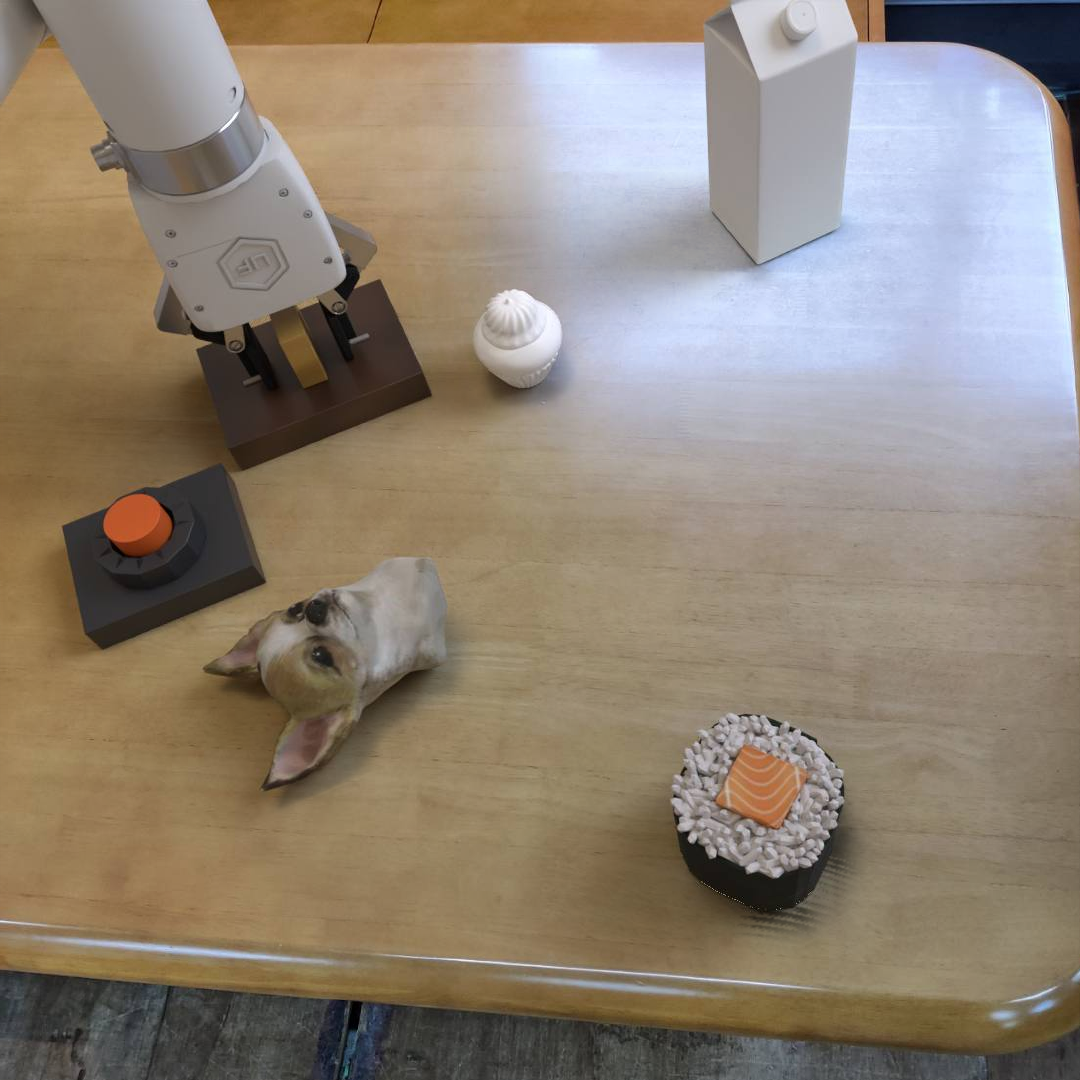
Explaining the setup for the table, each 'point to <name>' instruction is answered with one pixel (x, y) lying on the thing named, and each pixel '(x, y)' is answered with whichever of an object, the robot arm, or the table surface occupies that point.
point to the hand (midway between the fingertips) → (305, 358)
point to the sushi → (757, 810)
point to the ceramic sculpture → (340, 657)
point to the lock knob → (298, 346)
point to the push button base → (164, 560)
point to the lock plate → (327, 407)
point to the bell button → (138, 525)
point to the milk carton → (778, 119)
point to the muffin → (518, 338)
